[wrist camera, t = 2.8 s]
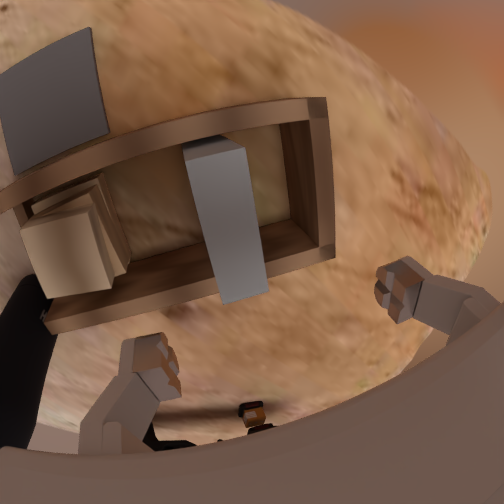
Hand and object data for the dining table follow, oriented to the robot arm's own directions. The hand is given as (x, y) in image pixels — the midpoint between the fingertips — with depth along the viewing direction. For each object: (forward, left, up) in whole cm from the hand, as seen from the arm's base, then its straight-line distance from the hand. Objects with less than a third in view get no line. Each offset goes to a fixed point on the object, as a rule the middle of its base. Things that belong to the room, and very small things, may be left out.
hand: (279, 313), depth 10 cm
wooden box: (-5, 0, -17) cm, 17 cm away
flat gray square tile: (-12, +12, -17) cm, 24 cm away
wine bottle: (-21, -6, -17) cm, 28 cm away
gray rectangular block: (0, 0, -17) cm, 17 cm away
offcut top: (-12, 0, -12) cm, 17 cm away
